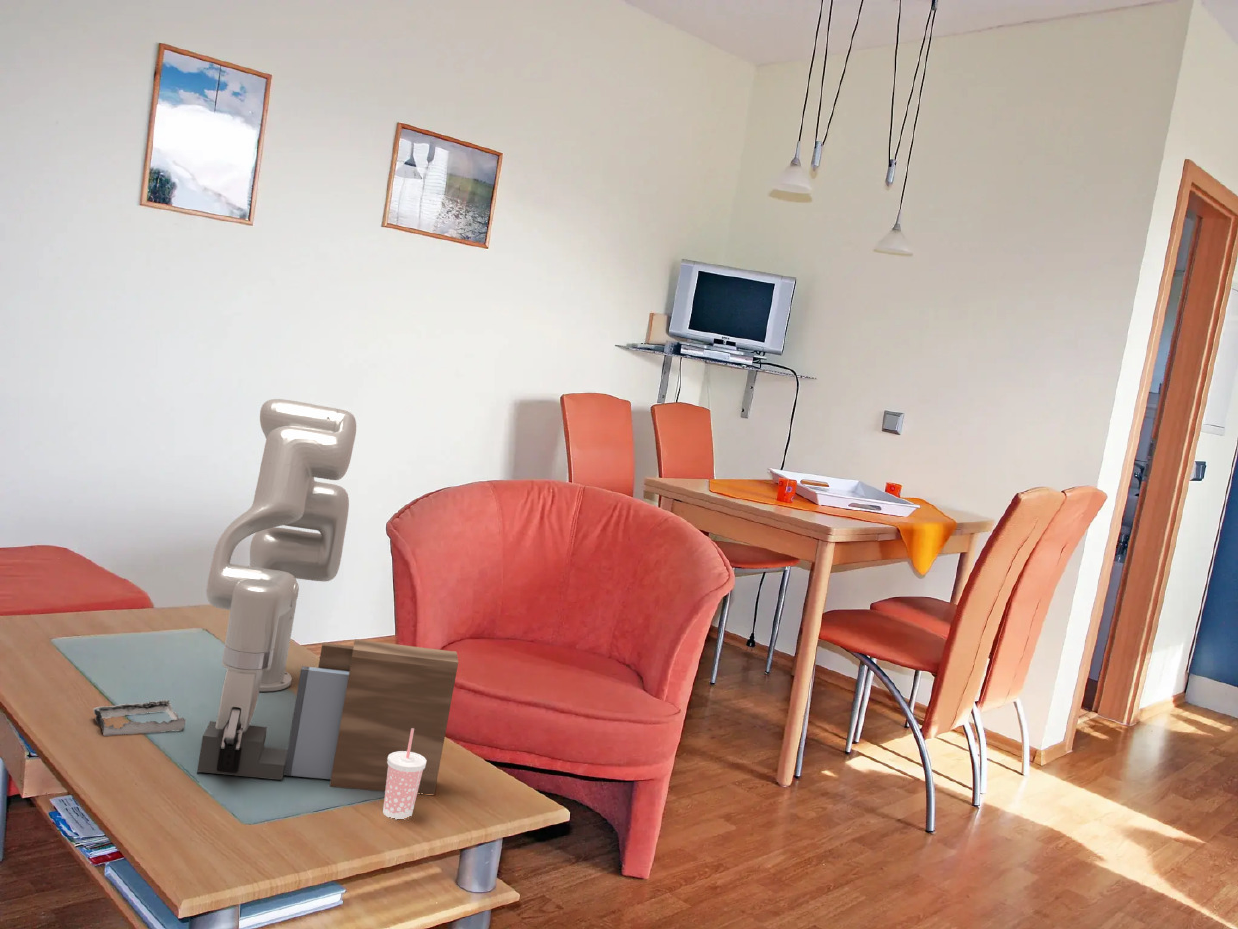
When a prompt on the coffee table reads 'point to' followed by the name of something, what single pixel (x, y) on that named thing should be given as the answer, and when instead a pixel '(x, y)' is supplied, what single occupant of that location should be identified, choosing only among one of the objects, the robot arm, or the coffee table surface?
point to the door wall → (390, 709)
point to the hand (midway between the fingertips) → (230, 761)
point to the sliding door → (316, 722)
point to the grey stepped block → (243, 753)
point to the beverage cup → (402, 782)
